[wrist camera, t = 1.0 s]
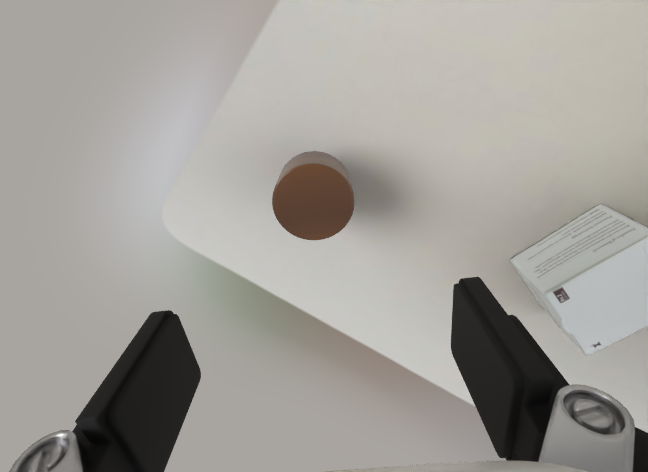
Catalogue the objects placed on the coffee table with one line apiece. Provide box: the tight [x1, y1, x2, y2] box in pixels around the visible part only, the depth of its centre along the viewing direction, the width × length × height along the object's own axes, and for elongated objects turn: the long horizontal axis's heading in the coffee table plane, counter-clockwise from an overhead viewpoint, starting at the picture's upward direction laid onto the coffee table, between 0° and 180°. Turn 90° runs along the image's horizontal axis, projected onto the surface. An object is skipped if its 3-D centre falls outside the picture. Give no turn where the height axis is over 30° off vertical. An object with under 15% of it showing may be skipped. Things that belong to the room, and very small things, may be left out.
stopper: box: [272, 151, 354, 240], centre depth 22 cm, size 5×5×6 cm
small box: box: [510, 204, 648, 355], centre depth 26 cm, size 8×8×5 cm
